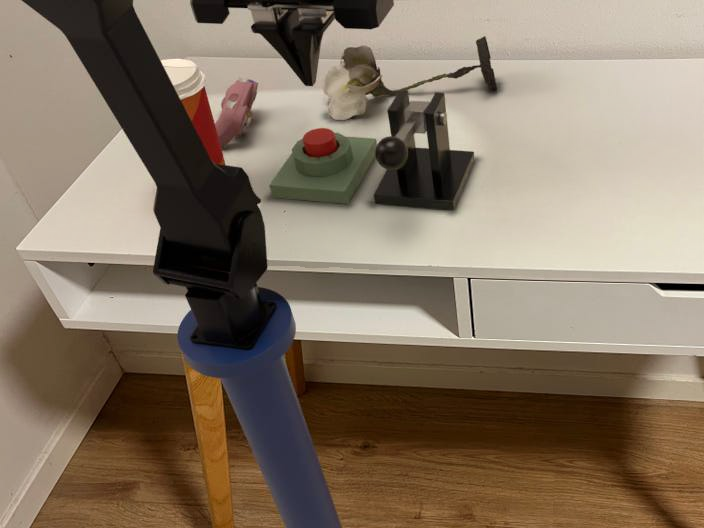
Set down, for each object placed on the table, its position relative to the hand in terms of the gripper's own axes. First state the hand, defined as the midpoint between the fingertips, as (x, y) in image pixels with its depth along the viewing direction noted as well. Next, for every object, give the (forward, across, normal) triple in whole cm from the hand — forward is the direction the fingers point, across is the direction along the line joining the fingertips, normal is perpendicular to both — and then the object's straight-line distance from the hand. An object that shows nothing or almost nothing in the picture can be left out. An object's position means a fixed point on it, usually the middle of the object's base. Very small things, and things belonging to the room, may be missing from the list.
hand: (310, 84), depth 81 cm
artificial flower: (+12, -4, -20) cm, 23 cm away
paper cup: (+12, +14, +3) cm, 19 cm away
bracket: (+12, -11, -2) cm, 16 cm away
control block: (+12, +1, -2) cm, 12 cm away
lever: (+5, -11, +3) cm, 12 cm away
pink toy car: (+12, +16, -10) cm, 23 cm away
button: (+9, +1, -2) cm, 9 cm away
